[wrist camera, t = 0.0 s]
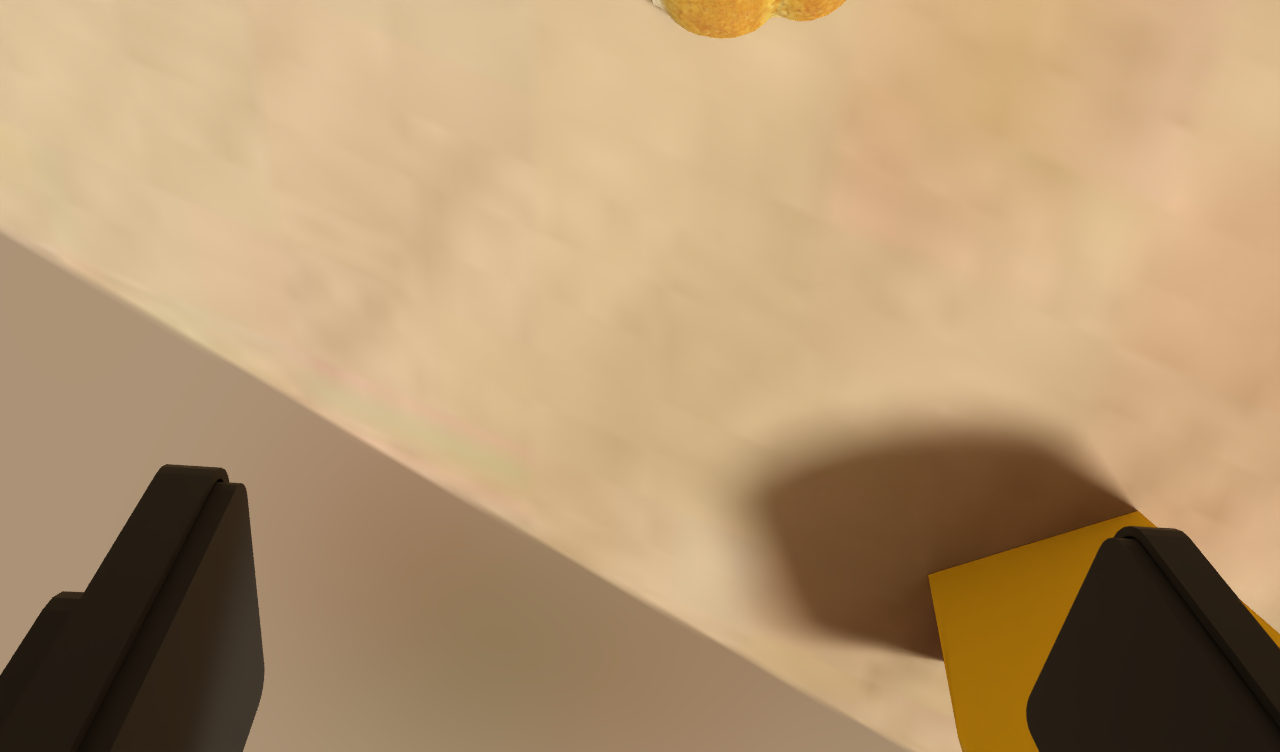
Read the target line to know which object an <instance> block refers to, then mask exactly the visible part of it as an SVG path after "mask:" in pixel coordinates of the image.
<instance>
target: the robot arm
mask: <svg viewBox="0 0 1280 752" xmlns="http://www.w3.org/2000/svg"><path fill="white" fill-rule="evenodd" d="M262 649H263V648H262V638H261V628H260V618H259V608H258V598H257V589H256V578H255V568H254V558H253V549H252V538H251V528H250V518H249V508H248V498H247V491H246V488H245V486H244V485H243V484H242V483H229V478H228V475H227V472H226V470H225V469H223V468H217V467H201V466H184V465H168V464H166V465H164V466H162V467H161V468H160V469H159V471H158V472H157V473H156V475H155V476H154V478H153V480H152V481H151V483H150V485H149V486H148V488H147V490H146V491H145V493H144V495H143V496H142V498H141V499H140V501H139V503H138V505H137V506H136V508H135V510H134V511H133V513H132V514H131V516H130V518H129V519H128V521H127V523H126V525H125V526H124V528H123V529H122V531H121V532H120V534H119V536H118V537H117V539H116V541H115V542H114V544H113V546H112V548H111V549H110V551H109V552H108V554H107V556H106V557H105V559H104V561H103V562H102V564H101V565H100V567H99V569H98V570H97V572H96V574H95V575H94V577H93V579H92V580H91V582H90V584H89V585H88V587H87V589H86V590H85V592H61V593H59V594H58V595H56V596H54V597H53V598H52V599H51V600H50V601H49V603H48V604H47V605H46V607H45V608H44V609H43V610H42V612H41V613H40V615H39V616H38V618H37V619H36V621H35V622H34V624H33V625H32V627H31V629H30V630H29V632H28V633H27V635H26V636H25V638H24V639H23V641H22V643H21V644H20V646H19V647H18V649H17V650H16V652H15V654H14V655H13V657H12V658H11V660H10V661H9V663H8V664H7V666H6V668H5V669H4V670H3V672H2V674H1V675H0V752H243V749H244V746H245V743H246V740H247V737H248V735H249V732H250V729H251V726H252V723H253V720H254V717H255V714H256V711H257V708H258V705H259V702H260V699H261V694H262V689H263V682H264V658H263V650H262ZM1026 719H1027V724H1028V728H1029V731H1030V734H1031V736H1032V738H1033V740H1034V742H1035V744H1036V746H1037V748H1038V751H1039V752H1280V648H1279V647H1278V646H1277V645H1276V643H1275V642H1274V641H1273V640H1272V638H1271V637H1270V636H1269V635H1268V634H1267V632H1266V631H1265V630H1264V629H1263V627H1262V626H1261V625H1260V624H1259V622H1258V621H1257V620H1256V619H1255V618H1254V616H1253V615H1252V614H1251V613H1250V611H1249V610H1248V609H1247V608H1246V607H1245V605H1244V604H1243V603H1242V602H1241V600H1240V599H1239V598H1238V597H1237V596H1236V594H1235V593H1234V592H1233V591H1232V589H1231V588H1230V587H1229V586H1228V585H1227V583H1226V582H1225V581H1224V580H1223V578H1222V577H1221V576H1220V575H1219V573H1218V572H1217V571H1216V570H1215V569H1214V567H1213V566H1212V565H1211V564H1210V562H1209V561H1208V560H1207V559H1206V558H1205V556H1204V555H1203V554H1202V553H1201V551H1200V550H1199V549H1198V548H1197V547H1196V545H1195V544H1194V543H1193V542H1192V540H1191V539H1190V538H1189V537H1188V536H1187V535H1186V534H1185V533H1183V532H1182V531H1180V530H1177V529H1171V528H1156V527H1140V526H1127V527H1123V528H1122V529H1120V530H1119V531H1117V533H1116V534H1115V536H1114V537H1113V538H1108V539H1106V540H1105V541H1104V542H1103V543H1102V544H1101V546H1100V547H1099V550H1098V552H1097V554H1096V556H1095V558H1094V560H1093V562H1092V564H1091V567H1090V569H1089V571H1088V573H1087V575H1086V577H1085V579H1084V581H1083V583H1082V586H1081V588H1080V590H1079V592H1078V594H1077V596H1076V598H1075V600H1074V603H1073V605H1072V607H1071V609H1070V611H1069V613H1068V615H1067V617H1066V619H1065V622H1064V624H1063V626H1062V628H1061V630H1060V632H1059V634H1058V636H1057V638H1056V641H1055V643H1054V645H1053V647H1052V649H1051V651H1050V653H1049V655H1048V658H1047V660H1046V662H1045V664H1044V666H1043V668H1042V670H1041V672H1040V674H1039V677H1038V679H1037V681H1036V683H1035V685H1034V687H1033V689H1032V691H1031V694H1030V696H1029V698H1028V701H1027V707H1026Z"/></svg>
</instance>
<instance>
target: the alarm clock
mask: <svg viewBox="0 0 1280 752" xmlns="http://www.w3.org/2000/svg"><path fill="white" fill-rule="evenodd" d="M1127 526H1140V527H1156V526H1155V525H1154V524H1153V523H1152V522H1150V521H1149V520H1148V519H1147V518H1146V517H1145V516H1143V515H1142V514H1141V513H1140V512H1139V511H1136V512H1132V513H1129V514H1126V515H1122V516H1119V517H1116V518H1113V519H1109V520H1106V521H1103V522H1100V523H1096V524H1093V525H1090V526H1086V527H1083V528H1080V529H1077V530H1073V531H1070V532H1067V533H1063V534H1060V535H1057V536H1054V537H1050V538H1047V539H1044V540H1040V541H1037V542H1034V543H1031V544H1027V545H1024V546H1021V547H1017V548H1014V549H1011V550H1008V551H1004V552H1001V553H998V554H994V555H991V556H988V557H985V558H981V559H978V560H975V561H971V562H968V563H965V564H962V565H958V566H955V567H952V568H949V569H945V570H942V571H939V572H935V573H932V574H929V575H928V578H929V583H930V588H931V594H932V599H933V605H934V610H935V615H936V621H937V626H938V631H939V637H940V642H941V648H942V653H943V658H944V664H945V669H946V674H947V680H948V685H949V691H950V696H951V701H952V707H953V712H954V717H955V723H956V728H957V734H958V738H959V741H960V745H961V748H962V751H963V752H1039V751H1038V748H1037V746H1036V744H1035V742H1034V740H1033V738H1032V736H1031V734H1030V731H1029V728H1028V724H1027V719H1026V707H1027V701H1028V698H1029V696H1030V694H1031V691H1032V689H1033V687H1034V685H1035V683H1036V681H1037V679H1038V677H1039V674H1040V672H1041V670H1042V668H1043V666H1044V664H1045V662H1046V660H1047V658H1048V655H1049V653H1050V651H1051V649H1052V647H1053V645H1054V643H1055V641H1056V638H1057V636H1058V634H1059V632H1060V630H1061V628H1062V626H1063V624H1064V622H1065V619H1066V617H1067V615H1068V613H1069V611H1070V609H1071V607H1072V605H1073V603H1074V600H1075V598H1076V596H1077V594H1078V592H1079V590H1080V588H1081V586H1082V583H1083V581H1084V579H1085V577H1086V575H1087V573H1088V571H1089V569H1090V567H1091V564H1092V562H1093V560H1094V558H1095V556H1096V554H1097V552H1098V550H1099V547H1100V546H1101V544H1102V543H1103V542H1104V541H1105V540H1106V539H1108V538H1113V537H1114V536H1115V534H1116V533H1117V531H1119V530H1120V529H1122V528H1123V527H1127ZM1156 528H1157V527H1156ZM1241 602H1242V601H1241ZM1242 603H1243V602H1242ZM1243 604H1244V605H1245V607H1246V608H1247V609H1248V610H1249V611H1250V613H1251V614H1252V615H1253V616H1254V618H1255V619H1256V620H1257V621H1258V622H1259V624H1260V625H1261V626H1262V627H1263V629H1264V630H1265V631H1266V632H1267V634H1268V635H1269V636H1270V637H1271V638H1272V640H1273V641H1274V642H1275V643H1276V645H1277V646H1278V647H1279V648H1280V634H1279V633H1278V632H1277V631H1276V630H1274V629H1273V628H1272V627H1271V626H1270V625H1269V624H1268V623H1266V622H1265V621H1264V620H1263V619H1262V618H1261V617H1260V616H1258V615H1257V614H1256V613H1255V612H1254V611H1253V610H1251V609H1250V608H1249V607H1248V606H1247V605H1246V604H1245V603H1243Z"/></svg>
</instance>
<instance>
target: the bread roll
mask: <svg viewBox="0 0 1280 752" xmlns="http://www.w3.org/2000/svg"><path fill="white" fill-rule="evenodd" d="M845 1H846V0H652V3H653V5H655V6H657V7H659V8H661V9H662V10H664V11H665V12H666V13H667V14H668V15H669V16H670V17H671V18H672V19H673V20H674V21H675V22H676V23H677V24H679V25H680V26H682V27H683V28H685V29H686V30H687V31H690V32H692V33H695V34H697V35H703V36H708V37H713V38H734V37H738V36H742V35H744V34H747V33H750V32H753V31H755V30H756V29H758V28H759V27H760V26H762V25H763V24H764V23H765V22H766V21H767V20H768V19H770V18H772V17H784V18H787V19H789V20H795V21H809V20H814V19H817V18H820V17H823V16H826V15H828V14H830V13H831V12H833V11H834V10H836V9H837V8H838V7H839V6H841V5H842V4H843V3H844V2H845Z"/></svg>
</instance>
